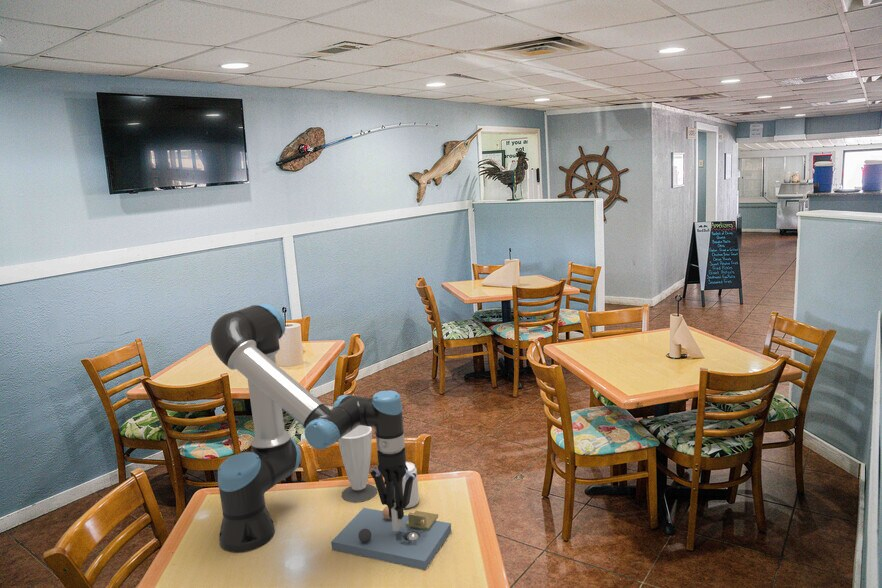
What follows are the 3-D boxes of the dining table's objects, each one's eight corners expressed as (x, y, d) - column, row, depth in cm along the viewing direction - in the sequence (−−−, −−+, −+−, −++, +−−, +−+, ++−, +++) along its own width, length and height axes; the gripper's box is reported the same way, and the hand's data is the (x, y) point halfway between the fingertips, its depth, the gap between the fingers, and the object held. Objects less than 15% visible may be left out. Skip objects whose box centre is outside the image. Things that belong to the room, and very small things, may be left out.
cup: (364, 480, 204) (359, 419, 200) (384, 493, 196) (379, 429, 192) (334, 493, 197) (328, 430, 193) (353, 506, 189) (347, 441, 184)
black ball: (356, 543, 165) (355, 532, 164) (363, 536, 168) (361, 525, 168) (367, 546, 164) (366, 534, 163) (374, 538, 167) (373, 527, 166)
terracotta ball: (380, 520, 176) (379, 509, 175) (386, 514, 179) (385, 503, 178) (391, 522, 174) (390, 511, 174) (397, 516, 177) (396, 505, 177)
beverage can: (415, 510, 184) (412, 474, 182) (389, 509, 186) (386, 472, 184) (421, 496, 192) (419, 461, 190) (396, 495, 194) (394, 460, 192)
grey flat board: (331, 549, 167) (331, 541, 167) (364, 515, 184) (363, 507, 183) (425, 570, 157) (424, 561, 156) (451, 531, 173) (450, 523, 172)
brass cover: (405, 526, 172) (404, 513, 171) (416, 513, 178) (415, 501, 177) (428, 530, 169) (427, 517, 168) (438, 516, 176) (437, 504, 175)
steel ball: (418, 542, 165) (412, 550, 166) (423, 535, 168) (417, 543, 169) (408, 534, 165) (402, 542, 167) (414, 527, 168) (407, 534, 170)
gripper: (362, 451, 163) (370, 531, 168) (406, 457, 158) (413, 540, 163) (376, 439, 170) (382, 517, 174) (418, 445, 165) (424, 524, 169)
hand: (397, 528), depth 169 cm, fingers closed
